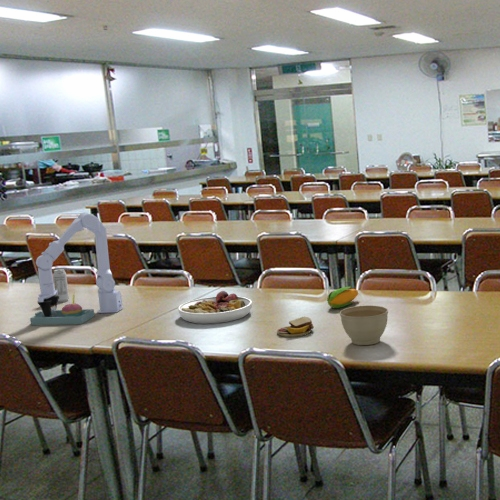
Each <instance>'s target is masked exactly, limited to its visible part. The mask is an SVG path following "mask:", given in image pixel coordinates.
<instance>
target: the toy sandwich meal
mask: <svg viewBox="0 0 500 500" xmlns="http://www.w3.org/2000/svg"><path fill="white" fill-rule="evenodd" d="M288 324H289V326H284V327H280V328H278V329H277V331H276V333H277V334H278V335H279V336H281V337H286V338H296V337H298V338H299V337H303V336H307V335H309V333H310V332H311V331H312V329H314V324H313V321H312V319H311V318H310V317H308V316H301V317H299V318H295V319H292V320H289V321H288Z"/></svg>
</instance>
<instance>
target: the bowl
mask: <svg viewBox="0 0 500 500" xmlns="http://www.w3.org/2000/svg"><path fill="white" fill-rule="evenodd" d="M252 305H253V301H252V299H250V298H247V297H244V296H243V297H242V296H238V295H237V294H236V293H233V292H232V293H231V294H229V293H228V292H227V291H225V290H221V291H219V292H217V294H216V296H209V297H202V298H197V299H193V300H189V301H187V302H184V303H182V304H180V305H179V306H178V308H177V309H178V314H179V316H180V317H181V319H183V320H184V321H186V322H188V323H193V324H198V325H199V324H202V325H207V324H208V325H210V324H223V323H228V322H234V321H237V320H239V319H242V318H244V317H246V316H247V315H248V314H249V313H250V312H251V310H252V308H253V306H252Z"/></svg>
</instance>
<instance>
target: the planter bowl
mask: <svg viewBox="0 0 500 500" xmlns="http://www.w3.org/2000/svg"><path fill="white" fill-rule="evenodd" d="M388 313H389V310H388V308H387V307H385V306H380V305H356V306H351V307H347V308H343V309H342V310H340V312H339V315H340V320H341V325H342V328H343V329H344V331H345V333H346V335H347V337H348V338H349V339H350V340H351V343H352V344H354V345H357V346H370V345H375V344H377V343H379V342H380V341H381V337H382V336H383V334H384V332H385V331H386V328H387V324H388Z"/></svg>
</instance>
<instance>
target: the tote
mask: <svg viewBox="0 0 500 500" xmlns="http://www.w3.org/2000/svg"><path fill="white" fill-rule="evenodd" d="M56 312H57V317H42V310H41V311H40V310H39V311H37V312H35V313H34V316H31V317H30V318H29V321H30V325H31V326H50V325H51V326H52V325H56V326H57V325H58V326H59V325H83V324H84V323H86V322H87V321H89V320H90V319H92V318H95V309H93V308H88V309H83V308H82V312H81V313H80V316H75V317H66V316H65V315H64V314H62V309H56Z"/></svg>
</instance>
